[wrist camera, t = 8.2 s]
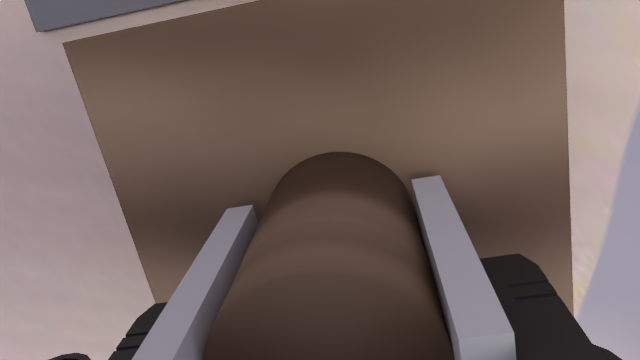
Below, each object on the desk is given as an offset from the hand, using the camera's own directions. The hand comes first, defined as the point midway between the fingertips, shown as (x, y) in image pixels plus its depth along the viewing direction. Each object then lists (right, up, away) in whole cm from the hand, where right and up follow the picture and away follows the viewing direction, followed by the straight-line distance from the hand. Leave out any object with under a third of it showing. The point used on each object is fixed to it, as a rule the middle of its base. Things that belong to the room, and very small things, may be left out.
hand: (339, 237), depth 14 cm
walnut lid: (0, +1, +2) cm, 2 cm away
